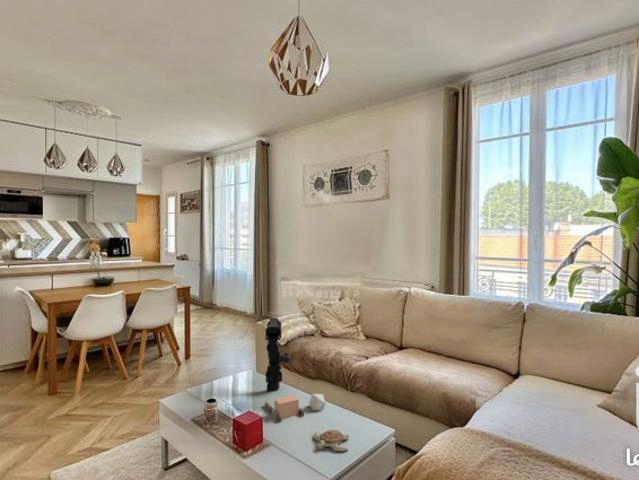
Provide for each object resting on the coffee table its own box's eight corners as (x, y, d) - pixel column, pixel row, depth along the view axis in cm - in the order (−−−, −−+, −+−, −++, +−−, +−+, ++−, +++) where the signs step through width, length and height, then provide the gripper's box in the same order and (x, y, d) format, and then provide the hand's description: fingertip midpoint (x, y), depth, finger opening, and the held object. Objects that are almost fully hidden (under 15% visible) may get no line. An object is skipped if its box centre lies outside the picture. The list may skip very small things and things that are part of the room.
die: (319, 417, 180) (330, 399, 183) (304, 407, 181) (315, 389, 184) (319, 415, 188) (329, 398, 190) (305, 406, 189) (315, 388, 192)
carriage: (274, 413, 180) (274, 399, 179) (293, 408, 184) (293, 394, 184) (279, 418, 174) (279, 404, 174) (298, 413, 179) (298, 399, 179)
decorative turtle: (302, 443, 157) (302, 431, 157) (328, 428, 169) (328, 417, 169) (334, 461, 145) (334, 448, 145) (360, 443, 157) (360, 432, 157)
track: (264, 408, 187) (264, 401, 187) (287, 403, 194) (287, 396, 194) (279, 425, 171) (279, 418, 171) (304, 419, 177) (304, 411, 177)
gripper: (289, 351, 186) (292, 383, 184) (288, 346, 204) (290, 375, 202) (267, 353, 185) (270, 386, 182) (267, 349, 203) (270, 378, 201)
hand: (276, 381), depth 192 cm, fingers closed
